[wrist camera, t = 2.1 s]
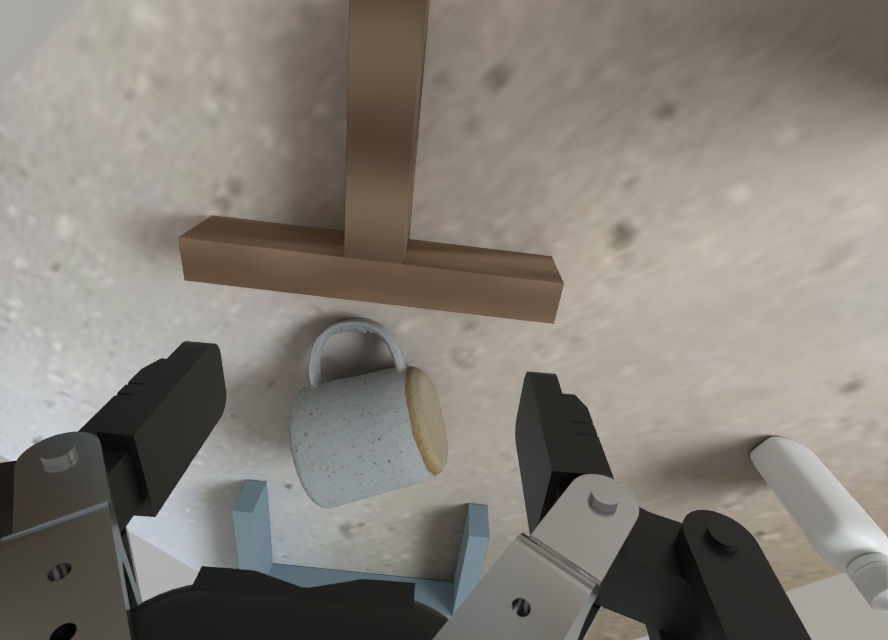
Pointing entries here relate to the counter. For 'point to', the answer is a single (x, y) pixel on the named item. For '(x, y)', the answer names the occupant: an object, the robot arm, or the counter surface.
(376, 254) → the scraper
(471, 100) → the counter surface
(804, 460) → the eye dropper bottle
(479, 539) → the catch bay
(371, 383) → the ceramic mug
